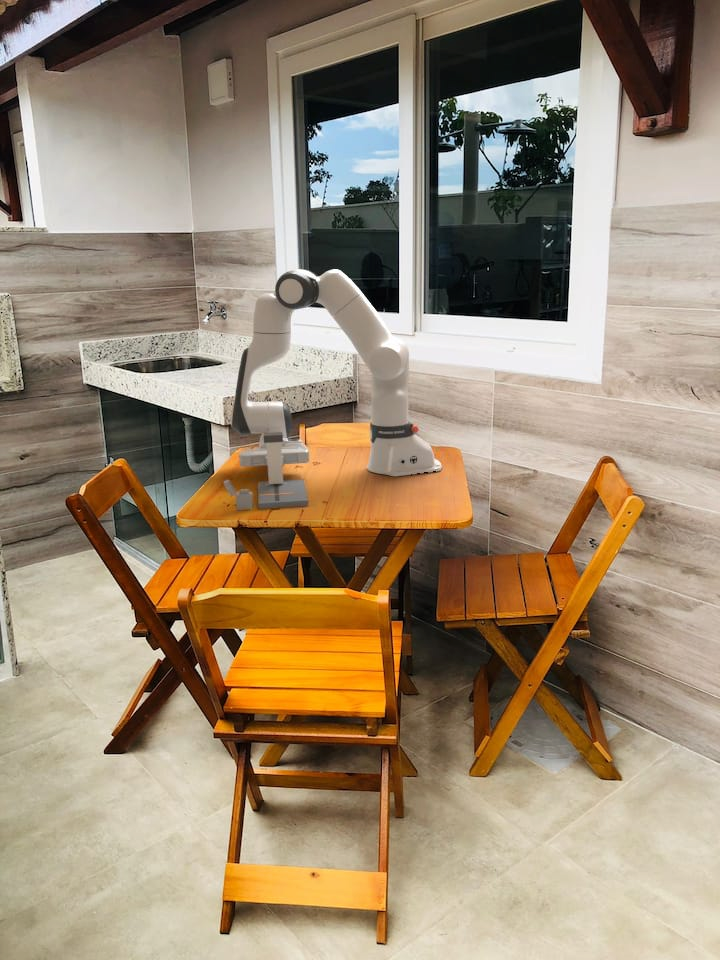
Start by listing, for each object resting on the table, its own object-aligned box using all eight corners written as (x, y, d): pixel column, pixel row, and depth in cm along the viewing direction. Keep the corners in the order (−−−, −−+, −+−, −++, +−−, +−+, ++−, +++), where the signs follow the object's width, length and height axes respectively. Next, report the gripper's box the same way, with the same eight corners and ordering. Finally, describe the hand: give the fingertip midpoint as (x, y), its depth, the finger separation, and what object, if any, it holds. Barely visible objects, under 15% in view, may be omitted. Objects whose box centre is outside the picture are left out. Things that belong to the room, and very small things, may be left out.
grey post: (285, 479, 224) (282, 431, 221) (285, 483, 221) (282, 434, 217) (266, 481, 224) (263, 432, 220) (266, 484, 220) (263, 435, 217)
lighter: (253, 507, 208) (251, 478, 206) (252, 509, 206) (250, 480, 204) (226, 508, 208) (223, 479, 205) (225, 510, 206) (223, 481, 204)
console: (304, 484, 227) (303, 478, 226) (308, 505, 208) (308, 500, 207) (258, 487, 225) (258, 481, 225) (258, 509, 206) (258, 503, 206)
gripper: (238, 443, 234) (236, 454, 221) (307, 439, 236) (309, 450, 223) (239, 463, 236) (238, 476, 223) (308, 459, 238) (310, 472, 225)
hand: (274, 463), depth 223 cm, fingers closed
